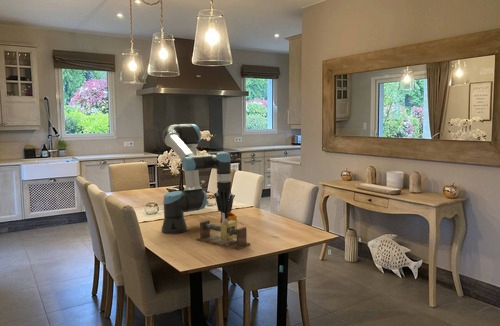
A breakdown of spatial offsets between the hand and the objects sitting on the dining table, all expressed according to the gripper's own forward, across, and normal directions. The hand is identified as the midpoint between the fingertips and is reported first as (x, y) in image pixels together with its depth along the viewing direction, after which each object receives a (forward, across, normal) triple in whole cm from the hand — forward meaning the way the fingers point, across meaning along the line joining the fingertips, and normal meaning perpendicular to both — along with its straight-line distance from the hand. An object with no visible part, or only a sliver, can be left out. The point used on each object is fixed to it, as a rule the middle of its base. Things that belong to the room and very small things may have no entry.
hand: (224, 224), depth 219 cm
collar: (+8, +3, 0) cm, 8 cm away
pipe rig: (+11, -2, 0) cm, 11 cm away
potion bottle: (+11, -13, +19) cm, 25 cm away
